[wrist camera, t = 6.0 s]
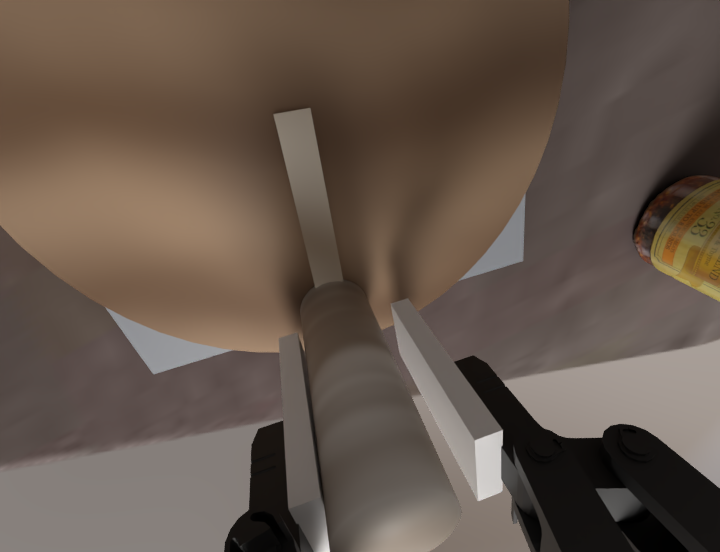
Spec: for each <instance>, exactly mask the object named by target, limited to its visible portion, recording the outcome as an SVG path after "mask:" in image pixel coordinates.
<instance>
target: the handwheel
mask: <svg viewBox="0 0 720 552" xmlns="http://www.w3.org/2000/svg"><path fill="white" fill-rule="evenodd" d="M568 29H569V0H0V225H1V226H2V228H3V229H4V230H5V231H6V232H7V233H8V234H9V235H10V236H11V237H12V238H13V239H14V240H15V241H16V242H17V243H18V244H19V245H20V246H21V247H22V248H24V249H25V250H26V251H27V252H28V253H30V254H31V255H32V256H33V257H34V258H36V259H37V260H38V261H39V262H40V263H42V264H43V265H44V266H45V267H46V268H47V269H49V270H50V271H51V272H52V273H53V274H55V275H56V276H57V277H59V278H60V279H62V280H63V281H65V282H66V283H68V284H69V285H71V286H72V287H74V288H75V289H77V290H78V291H80V292H81V293H82V294H84V295H85V296H87V297H88V298H90V299H91V300H93V301H95V302H97V303H99V304H101V305H102V306H104V307H106V308H108V309H110V310H112V311H114V312H115V313H117V314H119V315H121V316H123V317H125V318H127V319H129V320H131V321H134V322H136V323H139V324H141V325H143V326H146V327H148V328H150V329H153V330H155V331H158V332H160V333H163V334H167V335H170V336H173V337H176V338H180V339H183V340H186V341H189V342H192V343H197V344H202V345H207V346H212V347H217V348H222V349H229V350H239V351H249V352H279V338H281V337H284V336H287V335H291V334H294V333H298V335H299V338H300V341H301V344H302V346H303V349H304V350H305V355H306V363H307V371H308V379H309V388H310V396H311V404H312V412H313V420H314V428H315V436H316V444H317V452H318V460H319V468H320V476H321V484H322V492H323V500H324V508H325V516H326V525H327V533H328V541H329V549H330V552H429V551H431V550H433V549H434V548H436V547H437V546H438V545H440V544H441V543H442V542H443V541H445V540H446V539H447V538H448V537H449V536H450V535H451V534H452V532H453V531H454V530H455V528H456V527H457V525H458V523H459V521H460V518H461V513H462V510H461V506H460V503H459V501H458V499H457V496H456V494H455V492H454V490H453V488H452V485H451V483H450V481H449V479H448V477H447V474H446V472H445V470H444V468H443V465H442V463H441V461H440V459H439V457H438V454H437V452H436V450H435V448H434V445H433V443H432V441H431V439H430V437H429V435H428V432H427V430H426V428H425V426H424V423H423V421H422V419H421V417H420V414H419V412H418V410H417V408H416V406H415V404H414V401H413V399H412V397H411V395H410V392H409V390H408V388H407V386H406V383H405V381H404V379H403V377H402V375H401V372H400V370H399V368H398V366H397V363H396V361H395V359H394V357H393V355H392V352H391V350H390V348H389V346H388V344H387V341H386V339H385V337H384V335H383V332H382V329H385V328H387V327H389V326H392V325H394V320H393V315H392V309H391V303H394V302H397V301H401V300H404V299H407V298H408V299H409V300H410V302H411V303H412V305H413V306H414V307H415V309H416V310H417V312H418V311H419V310H421V309H422V308H424V307H425V306H426V305H428V304H429V303H431V302H432V301H434V300H435V299H437V298H438V297H439V296H441V295H442V294H443V293H444V292H446V291H447V290H448V289H449V288H450V287H452V286H453V285H454V284H455V283H456V282H457V281H459V280H460V279H461V278H462V277H463V276H464V275H465V274H466V273H467V272H468V271H469V270H470V269H471V268H472V267H473V266H474V265H475V264H476V263H477V262H478V261H479V260H480V258H481V257H482V256H483V255H484V254H485V253H486V252H487V250H488V249H489V248H490V246H491V245H492V244H493V243H494V241H495V240H496V239H497V238H498V236H499V235H500V234H501V232H502V231H503V230H504V228H505V226H506V225H507V223H508V222H509V220H510V219H511V217H512V215H513V214H514V212H515V211H516V209H517V208H518V206H519V204H520V203H521V201H522V199H523V197H524V195H525V193H526V191H527V189H528V187H529V185H530V183H531V181H532V179H533V177H534V175H535V173H536V170H537V168H538V165H539V162H540V160H541V157H542V155H543V152H544V150H545V147H546V145H547V142H548V139H549V135H550V132H551V128H552V125H553V121H554V118H555V114H556V111H557V107H558V103H559V98H560V92H561V87H562V81H563V76H564V70H565V65H566V53H567V41H568Z"/></svg>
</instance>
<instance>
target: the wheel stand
mask: <svg viewBox="0 0 720 552" xmlns="http://www.w3.org/2000/svg"><path fill="white" fill-rule="evenodd" d="M524 219H525V195H524V197H523V199H522V201H521V203H520V204H519V206H518V208H517V209H516V211H515V212H514V214H513V215H512V217H511V219H510V220H509V222H508V223H507V225H506V226H505V228H504V230H503V231H502V232H501V234H500V235H499V236H498V238H497V239H496V240H495V241H494V243H493V244H492V245H491V246H490V248H489V249H488V250H487V252H486V253H485V254H484V255H483V256H482V257H481V258H480V260H479V261H478V262H477V263H476V264H475V265H474V266H473V267H472V268H471V269H470V270H469V271H468V272H467V273H466V274H465V275H464V276H463V277H462V278H461V279H460V280H462V279H466V278H469V277H472V276H475V275H479V274H482V273H485V272H488V271H492V270H495V269H498V268H501V267H505V266H508V265H511V264H514V263H518V262H521V261H523V247H524ZM105 308H106V307H105ZM106 309H107V310H108V312H109V313H110V315H111V316H112V317H113V319H114V320H115V321H116V323H117V324H118V326H119V327H120V328H121V330H122V331H123V333H124V334H125V335H126V337H127V338H128V340H129V341H130V342H131V344H132V345H133V347H134V348H135V349H136V351H137V352H138V353H139V355H140V356H141V358H142V359H143V360H144V362H145V363H146V365H147V366H148V367H149V369H150V370H151V372H152V373H153V374H156V373H159V372H163V371H166V370H169V369H172V368H176V367H179V366H182V365H185V364H189V363H192V362H195V361H198V360H202V359H205V358H208V357H211V356H215V355H218V354H221V353H225V352H228V351H231V350H229V349H222V348H217V347H212V346H207V345H202V344H197V343H192V342H189V341H186V340H183V339H180V338H176V337H173V336H170V335H167V334H163V333H160V332H158V331H155V330H153V329H150V328H148V327H146V326H143V325H141V324H139V323H136V322H134V321H131V320H129V319H127V318H125V317H123V316H121V315H119V314H117V313H115V312H114V311H112V310H110V309H108V308H106Z"/></svg>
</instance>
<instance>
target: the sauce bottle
mask: <svg viewBox="0 0 720 552" xmlns="http://www.w3.org/2000/svg"><path fill="white" fill-rule="evenodd" d="M634 243H635V246H636V247H637V251H638V253H639V255H640V257H641V258H642V259H643V260H644V261H646V262H647V263H649V264H651V265H653V266H655V267H656V268H657V269H658V270H660V271H661V272H663V273H665V274H667V275H669V276H671V277H673V278H675V279H677V280H679V281H681V282H683V283H685V284H686V285H688V286H690V287H692V288H694V289H696V290H698V291H700V292H702V293H704V294H706V295H708V296H710V297H712V298H714V299H716V300H718V301H720V178H718V177H713V176H709V175H695V176H690V177H686V178H684V179H682V180H680V181H678V182H676V183H674V184H672V185H670V186H669V187H668V188H666V189H665V190H664V191H663V192H662V193H660V194H658V195H657V197H656V198H655V199H654V200H653V201H651V202H650V204H649V206H648V208H647V209H646V210H645V212H644V215H643V217H642V218H641V220H640V222H639V225H638V227H637V228H636V229H635V234H634Z"/></svg>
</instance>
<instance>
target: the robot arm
mask: <svg viewBox="0 0 720 552" xmlns="http://www.w3.org/2000/svg"><path fill="white" fill-rule="evenodd" d="M391 309H392V315H393V320H394V325H395V331H396V336H397V342H398V347H399V352H400V355H401V357H402V359H403V361H404V363H405V365H406V366H407V368H408V370H409V372H410V374H411V376H412V378H413V380H414V382H415V383H416V385H417V387H418V389H419V391H420V393H421V395H422V397H423V398H424V400H425V402H426V404H427V406H428V408H429V410H430V412H431V414H432V415H433V417H434V419H435V421H436V423H437V425H438V426H439V428H440V430H441V432H442V434H443V436H444V438H445V440H446V442H447V444H448V446H449V447H450V449H451V451H452V453H453V455H454V457H455V459H456V460H457V463H458V464H459V466H460V468H461V470H462V472H463V474H464V476H465V477H466V479H467V481H468V483H469V485H470V487H471V489H472V491H473V493H474V495H475V496H476V498H477V500H478V501H480V500H482V499H485V498H487V497H490V496H493V495H495V494H498V493H500V492H502V481H503V482H504V484H505V486H506V487H507V489H508V490H509V492H510V494H511V495H512V511H511V514H512V520H513V524H515V523H517V519H518V521H519V524H520V526H521V528H522V531H523V533H524V536H525V538H526V541H527V543H528V546H529V548H530V551H531V552H720V488H718V487H717V486H716V485H715V484H714V483H712V482H711V481H710V480H709V479H707V478H706V477H705V476H704V475H702V474H701V473H700V472H699V471H698V470H696V469H695V468H694V467H693V466H691V465H690V464H689V463H688V462H687V461H685V460H684V459H683V458H682V457H680V456H679V455H678V454H677V453H675V452H674V451H673V450H672V449H670V448H669V447H668V446H667V445H666V444H664V443H663V442H662V441H661V440H659V439H658V438H657V437H656V436H654V435H652V434H651V433H649V432H648V431H646V430H644V429H641V428H639V427H636V426H633V425H626V424H618V425H613V426H610V427H609V428H608V429H606V430H605V431H604V433H603V437H602V438H565V437H561V436H558V435H557V434H555V433H553V432H552V431H550V430H546V429H544V428H542V427H541V426H540V425H539V424H538V423H537V422H536V421H535V420H534V419H533V418H532V416H531V415H530V414H529V413H528V412H527V410H526V409H525V408H524V407H523V406H522V404H521V403H520V402H519V401H518V400H517V399H516V397H515V396H514V395H513V394H512V393H511V391H510V390H509V389H508V388H507V387H505V385H504V383H503V382H502V381H501V379H500V378H499V377H497V375H496V374H495V372H494V371H493V370H492V369H491V368H490V366H489V365H488V364H487V363H485V362H484V361H482V360H480V359H478V358H477V357H475V356H470V357H467V358H464V359H461V360H458V361H455V362H453V360H452V359H451V357H450V356H449V355H448V353H447V352H446V350H445V349H444V348H443V346H442V345H441V343H440V342H439V341H438V339H437V338H436V337H435V335H434V334H433V332H432V331H431V330H430V328H429V327H428V325H427V324H426V323H425V321H424V320H423V318H422V317H421V316H420V314H419V313H418V312H417V310H416V309H415V307H414V306H413V305H412V303H411V302H410V300H409V299H408V298H407V299H404V300H401V301H397V302H394V303H391ZM279 355H280V372H281V390H282V407H283V421H280V422H278V423H274V424H272V425H269V426H266V427H263V428H260V429H258V431H257V434H256V436H255V438H254V441H253V443H252V450H251V463H252V464H251V478H250V501H249V510H248V511H247V512H246V513H245V514H243V515H242V516H241V517H240V518H239V519H238V520H237V521H236V523H235V524H234V525H233V527H232V528H231V529H230V532H229V534H228V537H227V539H226V542H225V550H224V552H330V549H329V541H328V533H327V525H326V516H325V508H324V500H323V492H322V484H321V476H320V468H319V460H318V452H317V444H316V436H315V428H314V420H313V412H312V404H311V396H310V388H309V379H308V371H307V363H306V355H305V352H304V349H303V346H302V344H301V341H300V338H299V335H298V333H294V334H291V335H287V336H284V337H281V338H279Z"/></svg>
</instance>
